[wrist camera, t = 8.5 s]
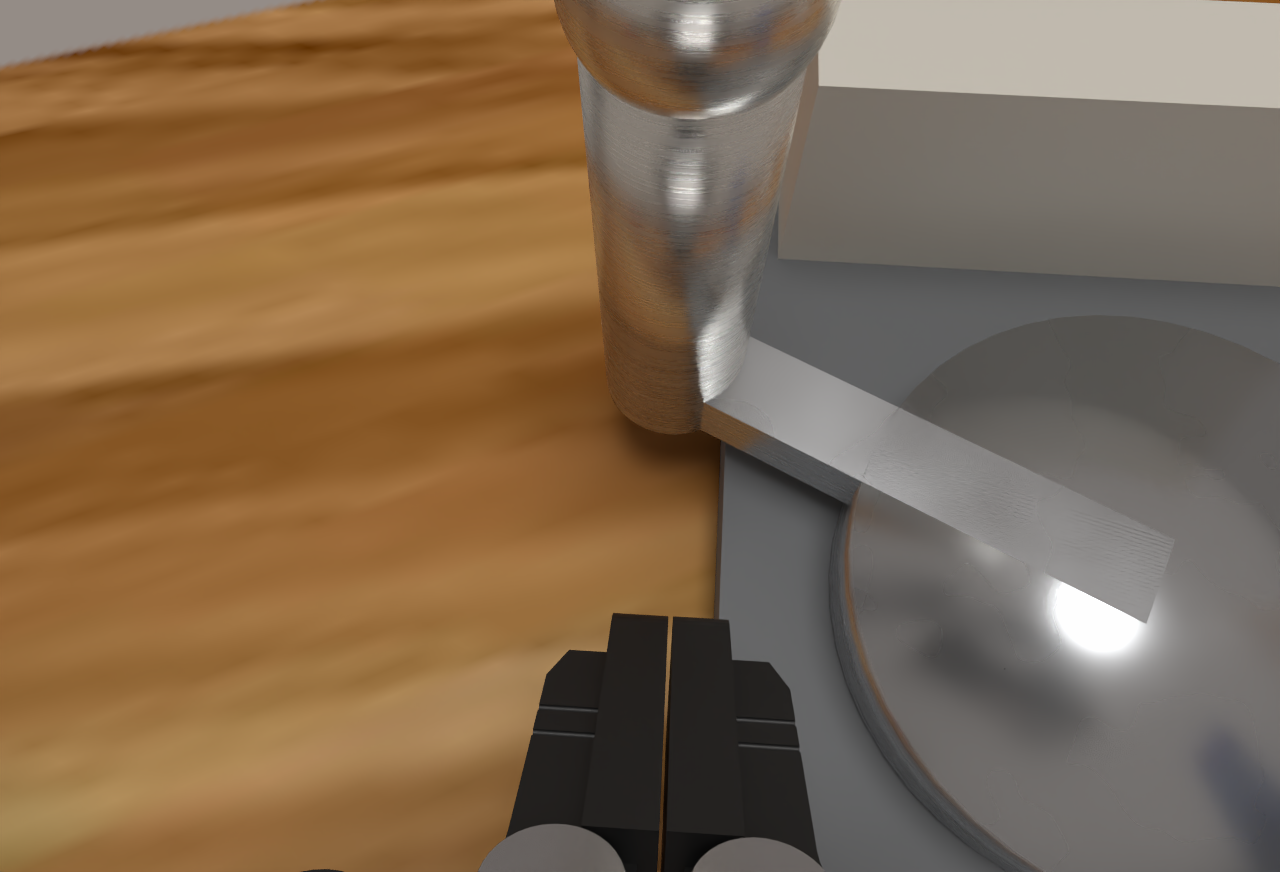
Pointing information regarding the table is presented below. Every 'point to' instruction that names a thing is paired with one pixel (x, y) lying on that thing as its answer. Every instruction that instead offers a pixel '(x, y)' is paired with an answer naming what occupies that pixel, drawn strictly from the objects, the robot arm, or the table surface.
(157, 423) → the table surface
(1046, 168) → the stand
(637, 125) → the crank handle
